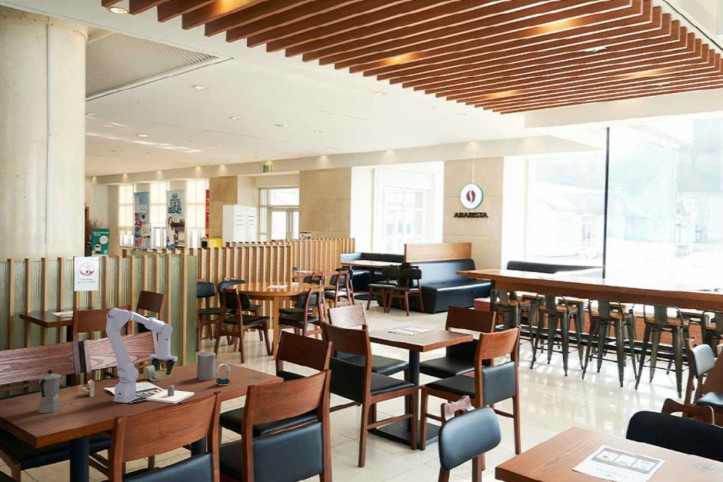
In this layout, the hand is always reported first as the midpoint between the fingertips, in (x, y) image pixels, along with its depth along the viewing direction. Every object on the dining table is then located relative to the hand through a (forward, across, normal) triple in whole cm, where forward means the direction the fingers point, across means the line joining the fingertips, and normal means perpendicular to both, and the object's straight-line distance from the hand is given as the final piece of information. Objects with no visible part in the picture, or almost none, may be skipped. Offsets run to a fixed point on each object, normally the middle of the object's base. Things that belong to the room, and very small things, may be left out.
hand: (163, 374), depth 292 cm
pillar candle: (+9, -6, -31) cm, 33 cm away
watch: (+9, -21, -23) cm, 32 cm away
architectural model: (+10, +29, +18) cm, 35 cm away
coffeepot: (+9, +28, +44) cm, 53 cm away
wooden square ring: (+2, 0, 0) cm, 2 cm away
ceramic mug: (+9, +19, -19) cm, 28 cm away
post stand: (+9, -9, +7) cm, 15 cm away
